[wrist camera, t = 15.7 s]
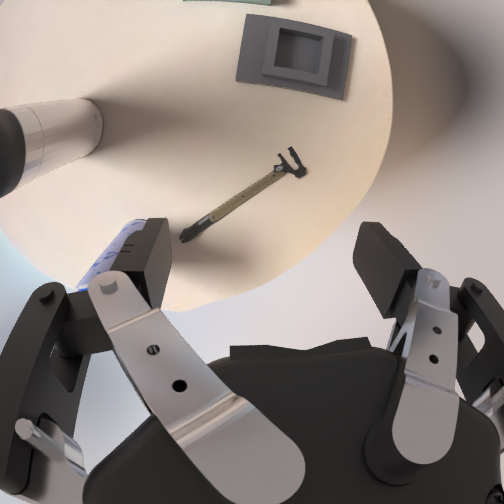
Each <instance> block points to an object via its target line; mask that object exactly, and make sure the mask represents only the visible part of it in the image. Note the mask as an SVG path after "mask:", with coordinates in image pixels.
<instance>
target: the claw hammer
mask: <svg viewBox="0 0 504 504" xmlns="http://www.w3.org/2000/svg"><path fill="white" fill-rule="evenodd" d="M288 150H289V151H290V155H291V156H292V157H293V158H294V160H295V162H296V163H297V164H298V165H299V169H297V170H293V169H292V168H291V167H290V166H289V164H288V163H287V162H286V160H285V159H284V158H283V157H282V155H281V153H279V154H278V156H279V157H280V158H281V160H282V164H280V165H274V171H273V172H272V173H270V174H269V175H267V176H266V177H264V178H263V179H261V180H260V181H258V182H257V183H255V184H253V185H252V186H250V187H248V188H247V189H245V190H244V191H242V192H241V193H239V194H238V195H237V196H235V197H233V198H232V199H230V200H229V201H227V202H226V203H225V204H223V205H221V206H220V207H218V208H217V209H215V210H214V211H213V212H211V213H209V214H208V215H206V216H205V217H203V218H202V219H200V220H199V221H197V222H196V223H195V224H193V225H192V226H191V227H189V228H187V229H184V230H183V232H182V234H181V236H180V240H181V239H184V240H182V241H181V242H182V243H185V242H189V241H190V240H192V239H193V238H194V237H196V236H197V235H198V234H199V233H200V232H202V231H203V230H204V229H206V228H207V227H208V226H210V225H211V224H213V223H214V222H216V221H217V220H219V219H220V218H222V217H223V216H224V215H226V214H227V213H228V212H230V211H231V210H232V209H234V208H236V207H237V206H238V205H240V204H241V203H243V202H244V201H246V200H247V199H249V198H250V197H252V196H253V195H255V194H256V193H258V192H259V191H260V190H262V189H263V188H265V187H266V186H268V185H269V184H271V183H272V182H274V181H275V180H277V179H278V178H280V177H282V176H283V175H285V174H286V173H287V172H289V173H292V174H294V175H295V176H296V177H297V178H301V177H302V176H304V175H305V174H306V168H304V167H303V166H302V164H301V162H300V160H299V158H298V156H297V154H296V152H295V151H294V149H293V148H292V146H291V147H289V148H288Z"/></svg>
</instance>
